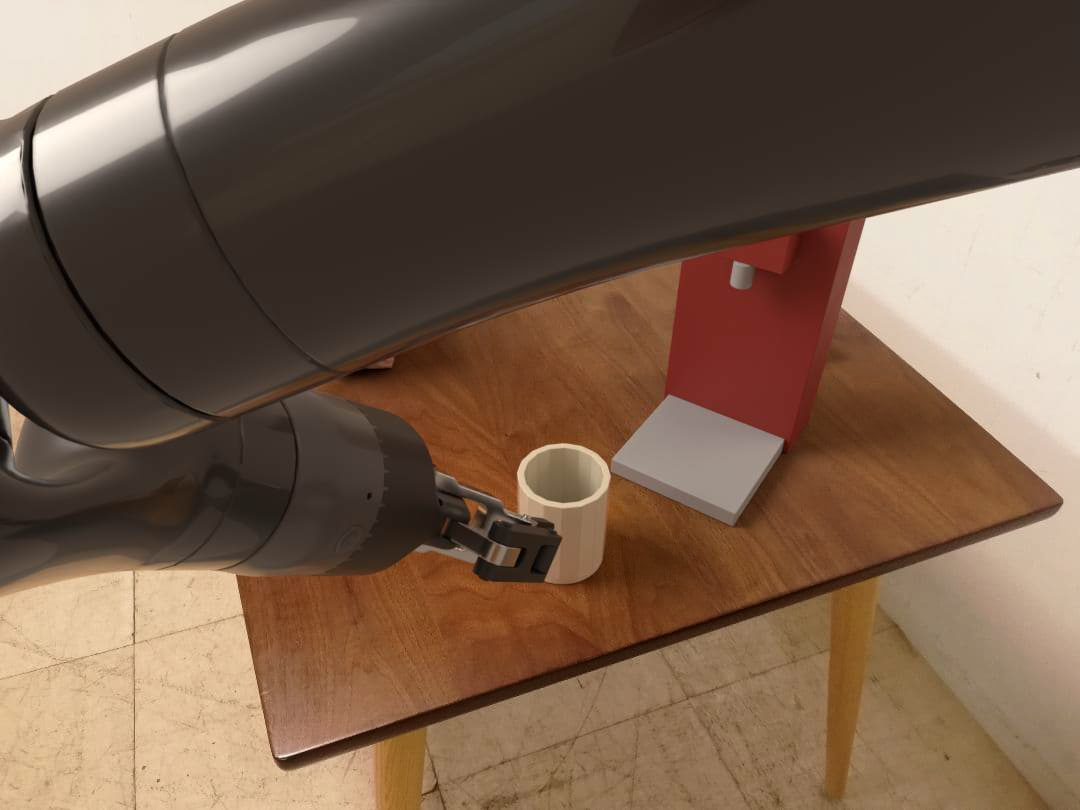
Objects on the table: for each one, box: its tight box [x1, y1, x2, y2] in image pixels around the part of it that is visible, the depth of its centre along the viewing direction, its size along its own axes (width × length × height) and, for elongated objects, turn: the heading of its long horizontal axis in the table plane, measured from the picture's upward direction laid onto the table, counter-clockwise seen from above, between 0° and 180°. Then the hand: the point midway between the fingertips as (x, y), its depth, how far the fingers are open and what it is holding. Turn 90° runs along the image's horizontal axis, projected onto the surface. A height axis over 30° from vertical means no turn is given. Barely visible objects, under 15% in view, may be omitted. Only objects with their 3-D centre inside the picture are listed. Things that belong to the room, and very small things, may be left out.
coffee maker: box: [610, 218, 867, 527], centre depth 63 cm, size 16×12×27 cm
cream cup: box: [516, 442, 612, 585], centre depth 59 cm, size 6×6×8 cm
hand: (482, 508), depth 48 cm, fingers open, 8 cm apart
